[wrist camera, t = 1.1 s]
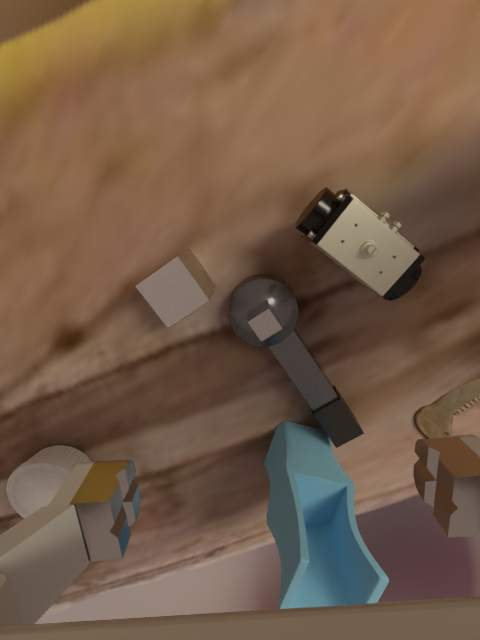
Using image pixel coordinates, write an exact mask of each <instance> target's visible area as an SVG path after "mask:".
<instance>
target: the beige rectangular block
mask: <svg viewBox="0 0 480 640" xmlns="http://www.w3.org/2000/svg"><path fill="white" fill-rule="evenodd" d="M135 287H136V288H137V289H138V290H139V292H140V293H141V294H142V296H143V297H144V298H145V299H146V301H147V302H148V303H149V305H150V306H151V307H152V308H153V310H154V311H155V312H156V314H157V315H158V316H159V317H160V319H161V320H162V321H163V323H164V324H165V325H166V326H167V328H169V327H170V326H172V325H173V324H175V323H176V322H178V321H179V320H181V319H182V318H184V317H185V316H187V315H188V314H190V313H191V312H193V311H194V310H196V309H197V308H199V307H200V306H202V305H203V304H205V303H206V302H208V301H209V300H210V298H211V296H212V294H213V291H214V289H215V287H216V285H215V284H214V282H213V281H212V280H211V278H210V277H209V275H208V274H207V273H206V271H205V270H204V268H203V267H202V265H201V264H200V263H199V261H198V260H197V258H196V257H195V256H194V254H193V253H192V251H191V250H190V249H188V250H187V251H185V252H183V253H182V254H180V255H179V256H177V257H176V258H174V259H173V260H171V261H170V262H169V263H167V264H166V265H164V266H163V267H162V268H160V269H159V270H157V271H156V272H155V273H153V274H152V275H150V276H149V277H148V278H146V279H145V280H143V281H142V282H141V283H139V284H138V285H136V286H135Z"/></svg>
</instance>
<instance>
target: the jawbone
mask: <svg viewBox="0 0 480 640" xmlns="http://www.w3.org/2000/svg"><path fill="white" fill-rule="evenodd" d="M479 400H480V378H479V379H475V380H472V381H469V382H467V383H465V384H463V385H461V386H459V387H457V388H455V389H453V390H451V391H449V392H448V393H446V394H444V395H443V396H441V397H440V398H439V399H438V400H436V401H435V402H433V403H432V404H430V405H428V406H424V407H422V408H420V410H418V411H417V413H416V414H415V421H416V424H417V426H418V427H419V429H420V430H421V431H422V432H423V433H424V434H425V435H426V436H427V437H428V438H429V439H430V438H444V437H452V429H451V428H452V419H453V414H455V415H458V413H460V414H461V412H462V411H466V408H470V405H474V403H475V402H477V403H478V401H479Z"/></svg>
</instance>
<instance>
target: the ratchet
mask: <svg viewBox="0 0 480 640" xmlns="http://www.w3.org/2000/svg"><path fill="white" fill-rule="evenodd" d="M298 315H299V311H298V305H297V301H296V299H295V297H294V295H293V293H292V292H291V290H290V288H289V287H288V285H287V284H286V283H285V282H283V281H282V280H281V279H279V278H277V277H275V276H272V275H267V274H259V275H254V276H251V277H248V278H246V279H245V280H243V281H242V282H241V283H240V284H239V285H238V286H237V287H236V288H235V290H234V292H233V294H232V297H231V301H230V306H229V321H230V325H231V327H232V329H233V331H234V332H235V334H236V335H237V336H238V337H239V338H240V339H241V340H243V341H244V342H246V343H248V344H251V345H254V346H259V347H267V346H268V347H269V349H270V350H271V351H272V353H273V354H274V356H275V357H276V359H277V360H278V361H279V363H280V364H281V366H282V367H283V369H284V370H285V371H286V373H287V374H288V376H289V377H290V379H291V380H292V381H293V383H294V384H295V386H296V387H297V389H298V390H299V391H300V393H301V394H302V396H303V397H304V399H305V400H306V401H307V403H308V404H309V406H310V407H311V410H312V413H313V415H314V417H315V418H316V419H317V421H318V422H319V424H320V425H321V427H322V428H323V429H324V431H325V432H326V434H327V435H328V437H329V438H330V439H331V441H332V442H333V444H334V445H335V446H336V448H337V447H339V446H341V445H343V444H345V443H347V442H348V441H350V440H352V439H354V438H356V437H358V436H360V435H362V434H364V433H363V431H362V429H361V427H360V425H359V423H358V421H357V419H356V417H355V416H354V414H353V413H352V411H351V410H350V408H349V407H348V405H347V404H346V402H345V401H344V399H343V398H342V396H341V395H340V393H339V392H338V390H337V389H336V387H335V386H333V385H332V384H331V382H330V381H329V379H328V378H327V376H326V375H325V373H324V372H323V370H322V369H321V367H320V366H319V364H318V363H317V361H316V360H315V358H314V357H313V355H312V354H311V352H310V351H309V349H308V348H307V346H306V345H305V343H304V342H303V340H302V339H301V337H300V336H299V334H298V333H297V331H296V330H295V326H296V324H297V321H298Z"/></svg>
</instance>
